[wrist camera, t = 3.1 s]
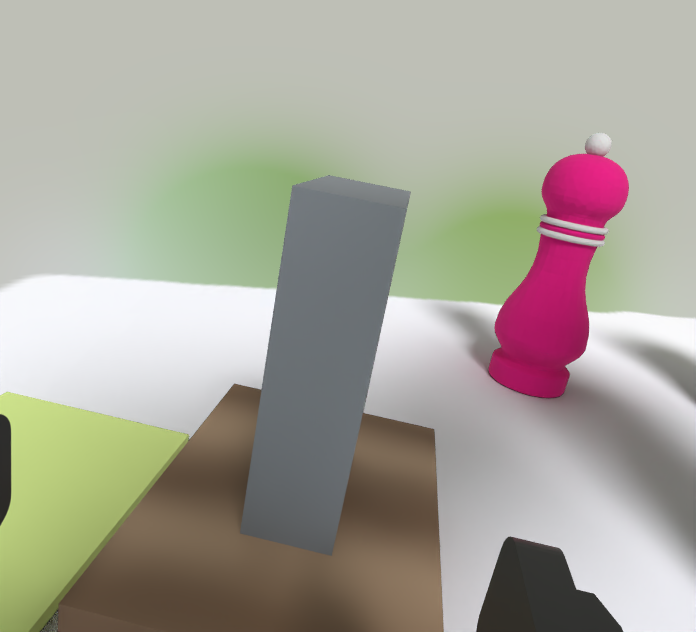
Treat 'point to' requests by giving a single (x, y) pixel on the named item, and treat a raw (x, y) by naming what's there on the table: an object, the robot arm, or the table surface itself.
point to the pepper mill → (559, 274)
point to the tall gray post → (320, 357)
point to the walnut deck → (270, 544)
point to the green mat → (68, 498)
